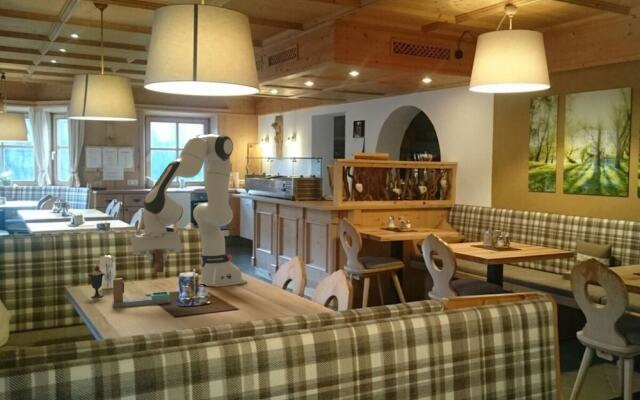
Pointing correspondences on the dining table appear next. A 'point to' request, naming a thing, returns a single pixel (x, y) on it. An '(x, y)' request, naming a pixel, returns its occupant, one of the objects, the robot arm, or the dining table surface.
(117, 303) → the rail
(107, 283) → the white carton
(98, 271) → the sundae
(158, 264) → the walnut finger
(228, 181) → the robot arm
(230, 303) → the dining table surface
